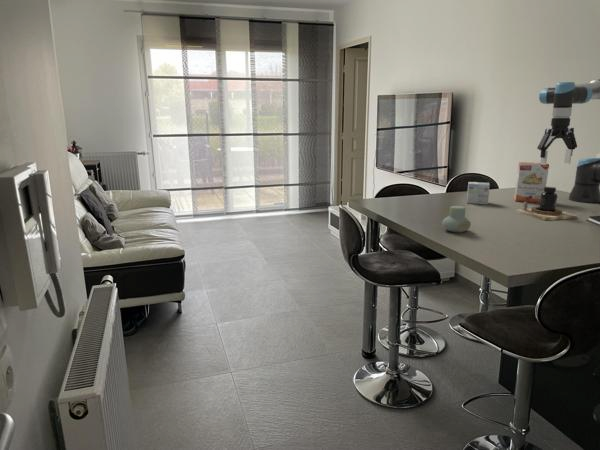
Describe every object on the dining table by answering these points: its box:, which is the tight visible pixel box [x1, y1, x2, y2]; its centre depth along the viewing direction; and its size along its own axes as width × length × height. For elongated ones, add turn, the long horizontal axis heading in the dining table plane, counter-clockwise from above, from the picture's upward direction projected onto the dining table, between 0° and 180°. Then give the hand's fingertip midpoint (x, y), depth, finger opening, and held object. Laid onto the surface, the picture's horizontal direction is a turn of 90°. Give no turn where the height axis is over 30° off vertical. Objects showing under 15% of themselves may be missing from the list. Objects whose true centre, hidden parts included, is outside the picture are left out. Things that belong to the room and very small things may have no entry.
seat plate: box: [516, 202, 578, 221], centre depth 215 cm, size 18×18×5 cm
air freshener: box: [441, 205, 471, 234], centre depth 186 cm, size 11×8×10 cm
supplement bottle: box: [538, 186, 558, 212], centre depth 214 cm, size 7×7×12 cm
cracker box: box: [513, 161, 550, 204], centre depth 245 cm, size 14×6×21 cm, turn 73°
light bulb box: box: [466, 181, 490, 205], centre depth 242 cm, size 11×7×11 cm, turn 71°
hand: (555, 164), depth 214 cm, fingers open, 13 cm apart
